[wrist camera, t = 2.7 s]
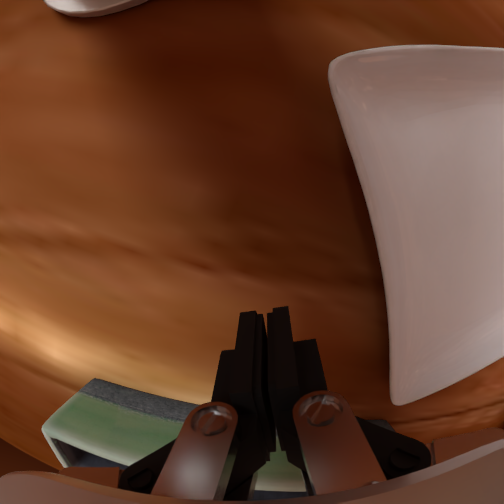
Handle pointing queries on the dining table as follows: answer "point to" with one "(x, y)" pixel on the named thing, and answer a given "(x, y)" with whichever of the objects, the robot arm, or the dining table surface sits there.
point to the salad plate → (431, 201)
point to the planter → (144, 434)
